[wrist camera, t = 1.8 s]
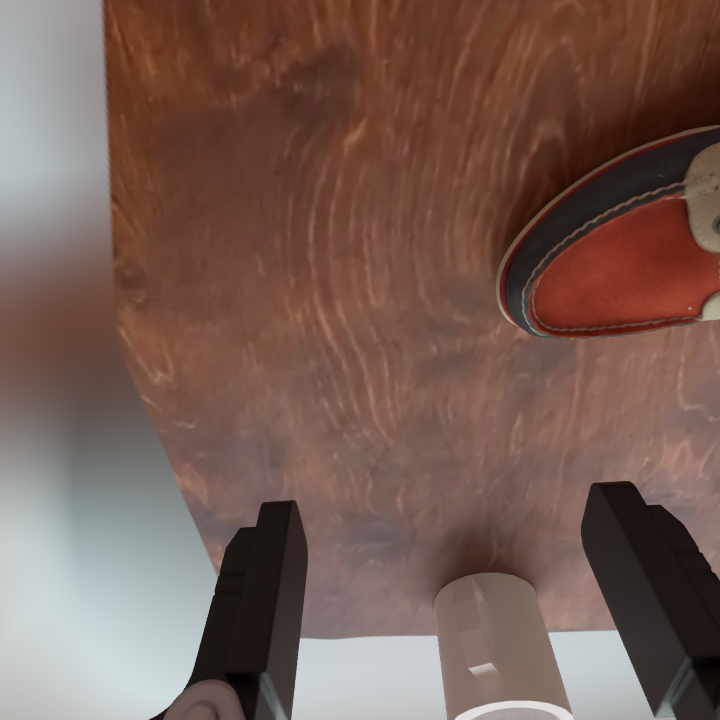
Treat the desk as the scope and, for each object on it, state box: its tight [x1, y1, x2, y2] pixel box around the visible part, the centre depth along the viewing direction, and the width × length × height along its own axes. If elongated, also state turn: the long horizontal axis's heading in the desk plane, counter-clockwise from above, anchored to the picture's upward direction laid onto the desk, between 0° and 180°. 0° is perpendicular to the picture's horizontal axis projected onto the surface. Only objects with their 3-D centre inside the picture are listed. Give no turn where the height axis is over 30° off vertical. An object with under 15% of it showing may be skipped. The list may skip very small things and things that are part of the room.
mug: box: [434, 573, 574, 720], centre depth 44 cm, size 14×10×11 cm
